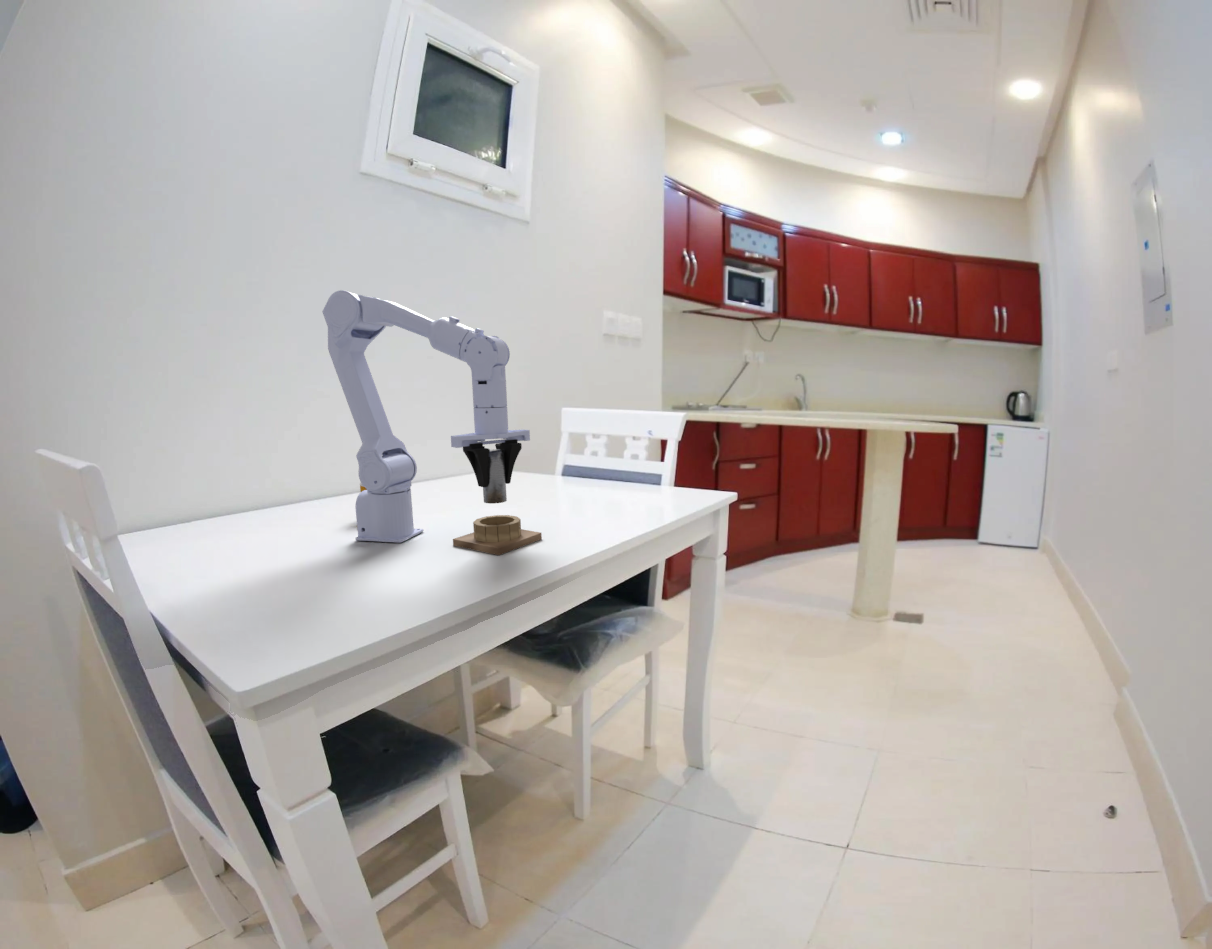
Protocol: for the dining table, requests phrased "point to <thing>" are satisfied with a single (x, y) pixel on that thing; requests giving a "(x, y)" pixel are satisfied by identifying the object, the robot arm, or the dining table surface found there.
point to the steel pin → (495, 478)
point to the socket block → (497, 535)
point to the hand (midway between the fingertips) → (494, 484)
